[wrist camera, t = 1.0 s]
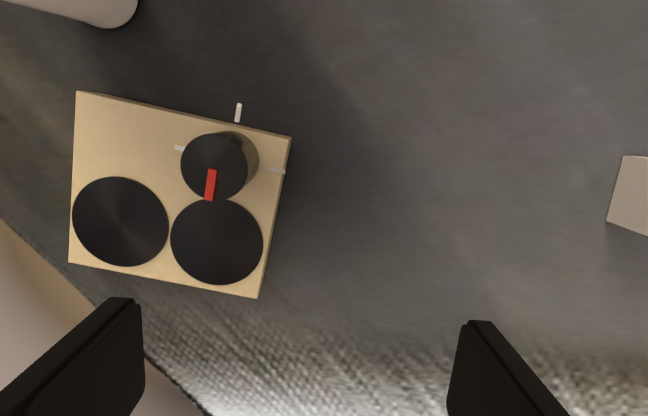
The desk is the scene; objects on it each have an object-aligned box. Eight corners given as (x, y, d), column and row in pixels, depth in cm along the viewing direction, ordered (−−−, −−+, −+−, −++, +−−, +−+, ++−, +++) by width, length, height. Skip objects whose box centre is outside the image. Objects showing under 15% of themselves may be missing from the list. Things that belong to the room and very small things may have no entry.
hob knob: (206, 124, 26) (182, 126, 22) (263, 137, 27) (252, 142, 22) (198, 180, 27) (174, 194, 23) (253, 192, 28) (240, 208, 23)
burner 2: (177, 188, 28) (175, 189, 27) (271, 208, 28) (270, 209, 28) (166, 274, 29) (164, 275, 29) (255, 291, 30) (254, 293, 30)
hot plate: (101, 69, 28) (75, 64, 25) (298, 116, 29) (296, 116, 26) (90, 249, 32) (66, 263, 29) (264, 283, 33) (258, 300, 30)
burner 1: (76, 166, 27) (73, 167, 27) (174, 187, 28) (172, 188, 27) (72, 255, 29) (69, 256, 29) (163, 273, 29) (162, 275, 29)
